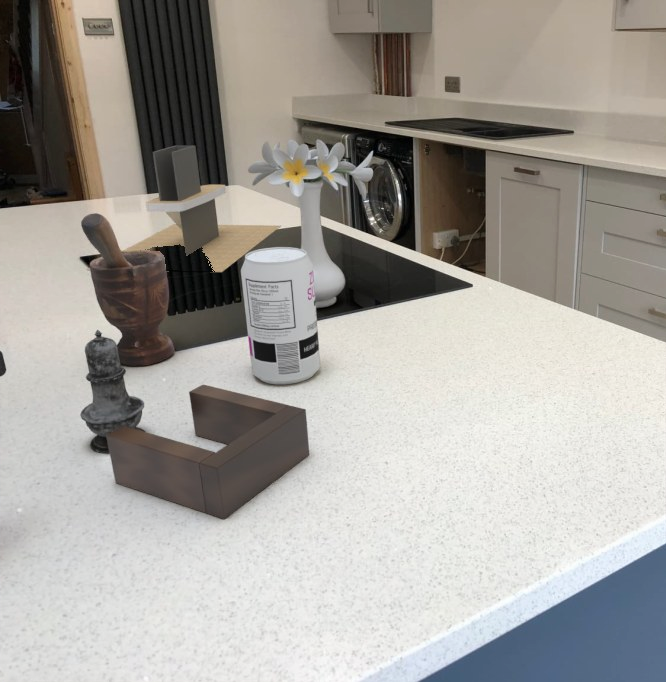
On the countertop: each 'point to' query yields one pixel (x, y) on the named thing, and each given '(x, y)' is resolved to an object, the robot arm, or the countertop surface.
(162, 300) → the mortar and pestle
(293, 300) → the supplement can
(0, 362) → the robot arm
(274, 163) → the flower vase
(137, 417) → the salt shaker
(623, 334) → the countertop surface
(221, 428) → the stand
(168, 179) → the architectural model
